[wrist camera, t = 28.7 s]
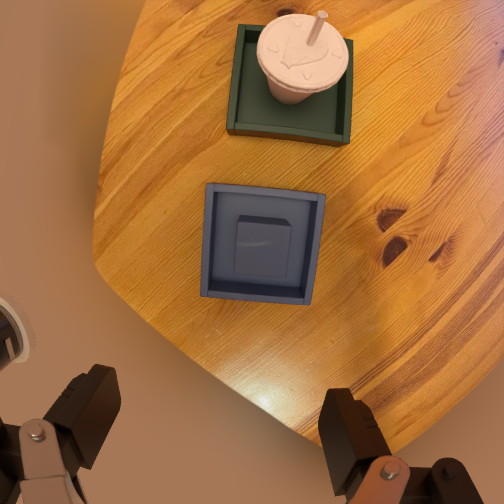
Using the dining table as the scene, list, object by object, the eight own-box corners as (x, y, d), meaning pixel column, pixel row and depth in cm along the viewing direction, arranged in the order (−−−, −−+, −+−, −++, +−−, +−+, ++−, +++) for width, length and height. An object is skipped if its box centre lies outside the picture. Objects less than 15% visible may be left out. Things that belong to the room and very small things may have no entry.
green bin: (229, 134, 27) (225, 128, 24) (239, 38, 25) (238, 23, 21) (339, 147, 28) (349, 143, 24) (343, 52, 25) (353, 39, 22)
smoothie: (333, 89, 26) (390, 30, 12) (291, 130, 27) (325, 89, 13) (285, 48, 25) (307, -34, 11) (241, 88, 26) (232, 18, 12)
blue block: (236, 259, 30) (233, 273, 25) (239, 214, 29) (237, 221, 24) (281, 263, 30) (286, 278, 26) (286, 219, 29) (292, 226, 24)
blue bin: (205, 284, 31) (200, 296, 28) (211, 182, 29) (206, 183, 25) (304, 292, 31) (310, 305, 28) (317, 192, 29) (326, 194, 25)
